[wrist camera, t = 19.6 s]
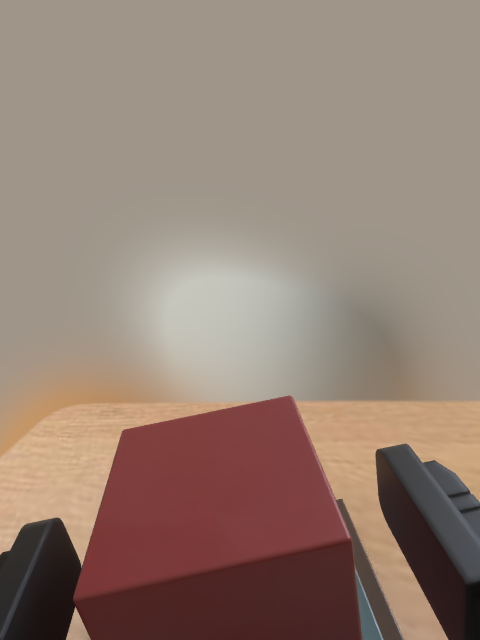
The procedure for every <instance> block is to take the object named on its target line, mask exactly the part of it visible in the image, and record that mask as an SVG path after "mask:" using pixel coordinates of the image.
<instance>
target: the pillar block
mask: <svg viewBox="0 0 480 640" xmlns="http://www.w3.org/2000/svg"><path fill="white" fill-rule="evenodd" d="M73 602H74V604H75V606H76V608H77V611H78V613H79V615H80V617H81V619H82V621H83V623H84V625H85V628H86V630H87V632H88V634H89V636H90V638H91V640H363V637H362V628H361V619H360V610H359V600H358V591H357V582H356V572H355V563H354V554H353V545H352V537H351V535H350V533H349V530H348V528H347V525H346V523H345V521H344V518H343V516H342V514H341V511H340V509H339V506H338V504H337V502H336V499H335V497H334V494H333V492H332V490H331V487H330V485H329V482H328V480H327V478H326V475H325V473H324V470H323V468H322V466H321V463H320V461H319V458H318V456H317V454H316V451H315V449H314V447H313V444H312V442H311V439H310V437H309V435H308V432H307V430H306V427H305V425H304V423H303V420H302V418H301V415H300V413H299V411H298V408H297V406H296V403H295V401H294V399H293V397H292V396H285V397H280V398H276V399H270V400H266V401H261V402H256V403H251V404H246V405H241V406H237V407H232V408H227V409H222V410H217V411H212V412H208V413H203V414H198V415H193V416H188V417H183V418H179V419H174V420H169V421H164V422H159V423H154V424H150V425H145V426H140V427H135V428H130V429H125V430H123V431H122V434H121V437H120V441H119V444H118V447H117V451H116V454H115V457H114V461H113V464H112V468H111V471H110V474H109V478H108V481H107V484H106V488H105V491H104V495H103V498H102V501H101V505H100V508H99V511H98V515H97V518H96V521H95V525H94V528H93V532H92V535H91V538H90V542H89V545H88V548H87V552H86V555H85V559H84V562H83V565H82V569H81V572H80V575H79V579H78V582H77V586H76V589H75V592H74V596H73Z"/></svg>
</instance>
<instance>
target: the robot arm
mask: <svg viewBox="0 0 480 640" xmlns="http://www.w3.org/2000/svg"><path fill="white" fill-rule="evenodd" d="M376 468H377V482H378V495H379V501H380V505H381V509H382V512H383V515H384V517H385V520H386V522H387V524H388V526H389V528H390V530H391V532H392V533H393V535H394V537H395V539H396V541H397V543H398V545H399V547H400V549H401V550H402V552H403V554H404V556H405V558H406V560H407V562H408V564H409V566H410V567H411V569H412V571H413V573H414V575H415V577H416V579H417V581H418V583H419V584H420V586H421V588H422V590H423V592H424V594H425V596H426V598H427V600H428V602H429V603H430V605H431V607H432V609H433V611H434V613H435V615H436V617H437V619H438V620H439V622H440V624H441V626H442V628H443V630H444V632H445V634H446V636H447V637H448V639H449V640H480V502H479V501H478V500H477V499H476V498H475V496H474V495H473V494H472V495H471V493H470V491H469V489H468V488H467V487H466V486H465V485H464V483H463V482H462V481H461V480H460V479H459V477H458V476H457V475H456V474H455V473H454V472H452V471H451V470H449V469H447V468H446V467H444V466H443V465H441V464H439V463H438V462H436V461H435V460H434V461H429V462H424V463H422V462H421V460H420V459H419V458H418V456H417V455H416V454H415V452H414V451H413V450H412V449H411V447H410V446H409V445H407V444H401V445H397V446H392V447H387V448H382V449H378V450H376ZM80 572H81V564H80V560H79V558H78V555H77V553H76V551H75V549H74V546H73V544H72V542H71V540H70V537H69V535H68V533H67V530H66V528H65V526H64V524H63V522H62V520H61V519H60V518H53V519H48V520H43V521H38V522H33V523H29V524H26V525H24V526H23V527H22V529H21V530H20V532H19V534H18V536H17V538H16V540H15V542H14V544H13V546H12V548H11V550H10V551H7V552H3V553H2V554H1V555H0V640H66V637H67V633H68V630H69V627H70V623H71V620H72V616H73V613H74V609H75V604H74V602H73V596H74V592H75V589H76V586H77V582H78V579H79V575H80Z"/></svg>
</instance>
